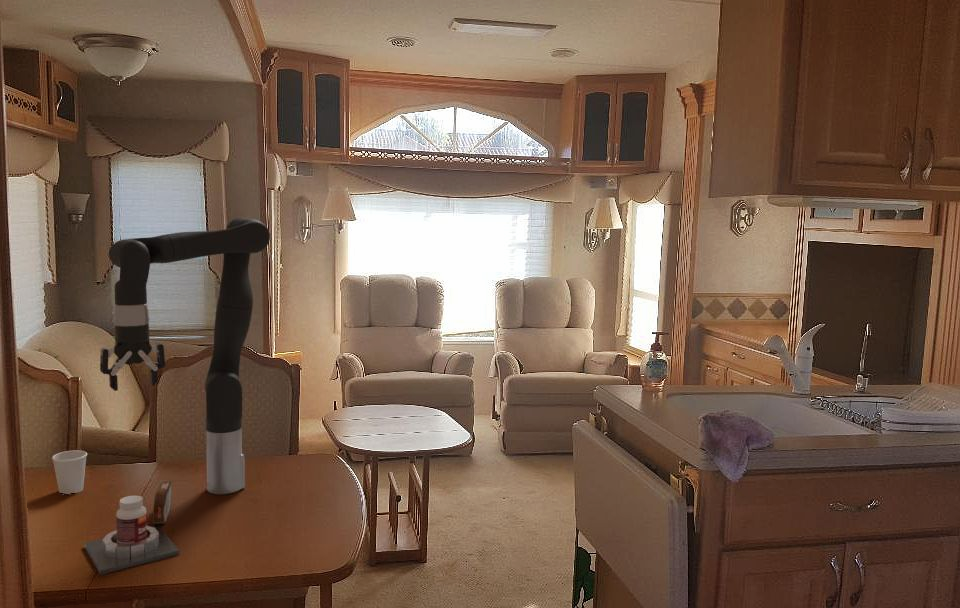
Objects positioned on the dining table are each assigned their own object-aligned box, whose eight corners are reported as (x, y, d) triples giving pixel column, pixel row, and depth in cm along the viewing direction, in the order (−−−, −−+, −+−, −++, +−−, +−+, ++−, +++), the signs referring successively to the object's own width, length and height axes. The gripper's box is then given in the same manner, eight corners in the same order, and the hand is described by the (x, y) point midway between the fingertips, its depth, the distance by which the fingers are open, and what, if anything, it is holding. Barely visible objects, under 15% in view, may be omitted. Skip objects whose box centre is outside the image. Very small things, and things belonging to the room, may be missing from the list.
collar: (158, 529, 174) (158, 515, 174) (179, 554, 162) (178, 539, 161) (84, 547, 164) (83, 532, 164) (100, 575, 152) (99, 559, 151)
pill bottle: (144, 551, 161) (142, 503, 159) (113, 553, 159) (112, 505, 158) (150, 539, 167) (148, 493, 165) (121, 541, 165) (119, 495, 164)
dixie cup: (90, 492, 196) (89, 456, 194) (54, 498, 191) (53, 462, 190) (86, 482, 202) (85, 448, 201) (52, 488, 198) (50, 453, 197)
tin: (161, 506, 188) (160, 475, 187) (174, 505, 189) (173, 474, 188) (151, 530, 174) (151, 496, 173) (166, 529, 175) (165, 495, 174)
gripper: (158, 318, 183) (160, 381, 185) (95, 322, 174) (98, 388, 176) (167, 322, 177) (169, 387, 179) (103, 326, 168) (105, 394, 170)
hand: (134, 387), depth 177 cm, fingers open, 8 cm apart
